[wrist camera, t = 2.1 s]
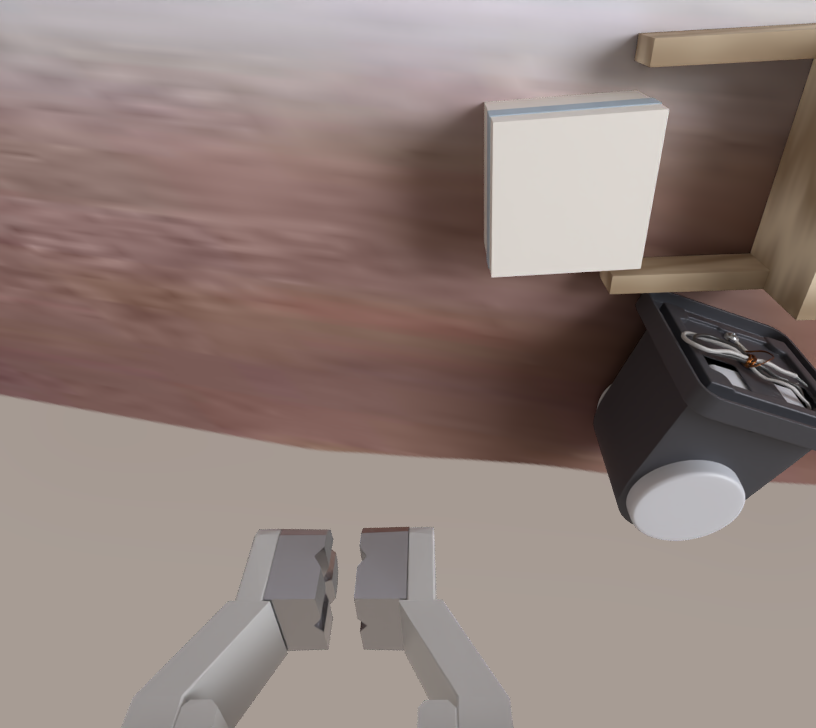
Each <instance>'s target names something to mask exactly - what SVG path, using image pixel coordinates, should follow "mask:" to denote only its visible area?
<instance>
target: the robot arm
mask: <svg viewBox="0 0 816 728" xmlns="http://www.w3.org/2000/svg"><path fill="white" fill-rule="evenodd" d="M332 544H333V537H332V533H331V530H313V529H309V530H308V529H307V530H306V529H259V530H258V532H257V534H256V535H255V537H254V540H253V543H252V547H251V550H250V553H249V557H248V560H247V564H246V567H245V570H244V573H243V577H242V580H241V584H240V587H239V590H238V593H237V597H236V600H235V601H228V602H227V603H226V604H225V605H224V606H223V607H222V608H221V609H220V610H219V611H218V612H217V613H216V614H215V615H214V616H213V617H212V618H211V619H210V620H209V621H208V622H207V623H206V624H205V625H204V626H203V627H202V628H201V629H200V630H199V631H198V632H197V633H196V634H195V635H194V636H193V637H192V638H191V639H190V640H189V641H188V642H187V643H186V644H185V645H184V646H183V647H182V648H181V649H180V650H179V651H178V652H177V653H176V654H175V655H174V656H173V657H172V658H171V659H170V661H168V663H166V664H165V665H164V666H163V668H162V669H160V670H159V672H158V673H157V674H156V675H155V676H154V677H153V678H152V679H151V680H150V681H149V682H148V683H147V684H146V685H145V686H144V687H143V688H142V689H141V690H140V691H139V692H138V693H137V694H136V695H135V696H134V697H133V699H132V702H131V704H130V707H129V709H128V712H127V714H126V717H125V719H124V721H123V724H122V726H121V728H234V727H235V726H236V724H237V723H238V722H239V720H240V719H241V718H242V716H243V714H244V713H245V712H246V711H247V709H248V708H249V706H250V705H251V704H252V702H253V701H254V700H255V698H256V696H257V695H258V694H259V693H260V691H261V690H262V688H263V687H264V686H265V684H266V683H267V681H268V680H269V679H270V677H271V676H272V675H273V673H274V672H275V670H276V669H277V667H278V666H279V665H280V663H281V662H282V661H283V659H284V658H285V657H286V655H287V654H288V653H287V651H296V650H323V649H324V650H328V649H329V641H330V635H331V628H332V621H333V616H332V612H331V607H330V604H331V603H332V602H333V600H334V599H335V598H336V593H337V585H338V563H337V556H336V553H335V552H334V551H333V550H332ZM360 551H361V558H362V562H361V563H360V564H359V565H358V567H357V575H356V585H355V594H354V601H355V606H356V612H357V617H358V619H359V620H360V621H361V628H360V633H361V638H362V643H363V648H364V649H367V650H368V649H369V650H404V651H405V654H406V656H407V658H408V660H409V662H410V664H411V666H412V668H413V669H414V671H415V673H416V675H417V677H418V679H419V681H420V683H421V685H422V687H423V689H424V690H425V693H426V694H427V696H428V698H429V700H424V701H423V703H422V704H421V705H420V706H419V707H418V727H417V728H513V721H512V712H511V705H510V698H509V697H508V695H507V694H506V692H505V691H504V689H503V688H502V686H501V685H500V683H499V682H498V680H497V679H496V677H495V676H494V674H493V673H492V672H491V670H490V669H489V667H488V666H487V664H486V663H485V661H484V660H483V659H482V657H481V655H480V654H479V653H478V651H477V650H476V648H475V647H474V645H473V644H472V642H471V641H470V639H469V638H468V636H467V635H466V633H465V632H464V631H463V629H462V628H461V626H460V625H459V623H458V622H457V620H456V619H455V618H454V616H453V614H452V613H451V612H450V610H449V609H448V607H447V606H446V604H445V603H444V601H443V600H437V599H436V568H435V542H434V527H417V528H416V527H415V528H409V527H389V528H363V530H362V533H361V540H360Z"/></svg>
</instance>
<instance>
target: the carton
mask: <svg viewBox="0 0 816 728" xmlns="http://www.w3.org/2000/svg"><path fill="white" fill-rule="evenodd" d="M668 115H669V108H667V107H665V106H663V105H662V102H660V101H658V100H656V99H655V98H650V97H648V96H646V95H645V94H643V93H641V92H640V91H638V90H630V91H618V92H605V93H592V94H580V95H567V96H554V97H542V98H529V99H516V100H504V101H491V102H484V245H485V250H486V254H487V264H488V269H490V273H491V277H508V276H525V275H542V274H559V273H576V272H593V271H610V270H627V269H641V264H642V258H643V253H644V247H645V242H646V236H647V231H648V225H649V220H650V214H651V209H652V203H653V198H654V192H655V186H656V181H657V175H658V170H659V164H660V159H661V153H662V148H663V142H664V137H665V131H666V126H667V120H668Z"/></svg>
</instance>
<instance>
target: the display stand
mask: <svg viewBox="0 0 816 728" xmlns="http://www.w3.org/2000/svg"><path fill="white" fill-rule="evenodd" d="M813 58H814V60H813V63H812V66H811V69H810V72H809V75H808V78H807V81H806V84H805V87H804V90H803V94H802V97H801V100H800V103H799V106H798V109H797V112H796V115H795V118H794V121H793V124H792V127H791V130H790V133H789V136H788V139H787V142H786V145H785V149H784V152H783V155H782V158H781V161H780V164H779V167H778V170H777V173H776V176H775V179H774V182H773V185H772V188H771V191H770V194H769V197H768V200H767V204H766V207H765V210H764V213H763V216H762V219H761V222H760V225H759V228H758V231H757V234H756V237H755V240H754V243H753V246H752V249H751V252H750V253H747V254H720V255H693V256H666V257H643V258H642V264H641V269H627V270H610V271H600V278H601V280H602V282H603V283H604V285H605V287H606V289H607V291H608V292H609V294H631V293H660V292H690V291H719V290H748V289H764V290H765V291H766V292H767V293H768V294H769V295H770V296H771V297H772V298H773V299H774V300H775V301H776V302H777V303H778V304H780V305H781V306H782V307H783V308H784V309H785V310H786V311H787V312H788V313H789V314H790V315H791V316H792V317H793V318H794V319H795V320H816V23H810V24H793V25H775V26H758V27H740V28H723V29H705V30H688V31H671V32H653V33H639V35H638V42H637V48H636V54H635V60H634V61H637V62H639V63H641V64H643V65H646V66H648V67H666V66H684V65H703V64H721V63H740V62H758V61H776V60H795V59H813Z"/></svg>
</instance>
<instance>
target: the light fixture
mask: <svg viewBox="0 0 816 728" xmlns="http://www.w3.org/2000/svg"><path fill="white" fill-rule="evenodd" d="M635 306H636V309H637V311H638V313H639V315H640V317H641V319H642V321H643V323H644V325H645V327H646V329H647V330H646V332H645V333H644V335H643V336H642V338H641V339H640V341H639V342H638V344H637V345H636V347H635V348H634V350H633V352H632V353H631V355H630V356H629V358H628V359H627V361H626V362H625V364H624V366H623V367H622V369H621V370H620V372H619V373H618V375H617V376H616V378H615V380H614V381H613V383H612V384H611V385H610V386H609V387H608V388H607V389H606V390H605V391H604V392H603V394H602V395H601V397H600V399H599V402H598V405H597V410H596V413H595V416H594V421H593V424H594V430H595V433H596V437H597V440H598V443H599V446H600V450H601V453H602V456H603V459H604V463H605V466H606V469H607V473H608V476H609V478H610V482H611V485H612V489H613V492H614V495H615V498H616V502H617V505H618V508H619V510H620V513H621V515H622V516H623V517H624V518H625V519H626V520H627V521H629V522H630V523H632V524H634V526H635V527H636V528H637V529H638V530H639V531H641V532H642V533H644V534H645V535H648V536H650V537H653V538H656V539H661V540H670V541H672V540H673V541H679V540H689V539H695V538H699V537H702V536H706V535H709V534H711V533H713V532H716V531H718V530H720V529H721V528H723V527H725V526H726V525H728V524H729V523H731V522H732V521H733V520H734V519H735V518H736V517H737V516H738V515H739V513H740V512H741V510H742V508H743V506H744V503H745V500H746V499H747V498H749V497H750V496H751V495H752V494H754V493H755V492H756V491H758V490H759V489H760V488H762V487H763V486H764V485H766V484H767V483H768V482H770V481H771V480H772V479H774V478H775V477H776V476H778V475H779V474H780V473H782V472H783V471H784V470H786V469H787V468H788V467H790V466H791V465H792V464H793V463H795V462H796V461H797V460H799V459H800V458H801V457H803V456H804V455H805V454H807V453H808V452H809V451H810V450H815V451H816V369H815V368H814V367H813V366H812V365H811V363H810V362H809V361H808V360H807V359H806V357H805V356H804V355H803V354H802V353H801V352H800V350H799V349H798V348H797V347H796V346H795V344H794V343H793V342H792V341H791V340H790V339H789V338H788V337H787V336H786V335H785V334H783V333H782V332H780V331H778V330H777V329H775V328H773V327H771V326H768V325H765V324H762V323H760V322H757V321H754V320H751V319H748V318H745V317H742V316H739V315H736V314H733V313H730V312H727V311H725V310H722V309H719V308H716V307H713V306H710V305H707V304H704V303H701V302H698V301H695V300H692V299H689V298H686V297H684V296H681V295H678V294H675V293H672V292H660V293H642V295H641V296H640V298H639V299H638V300H637V302H636V304H635Z"/></svg>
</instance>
